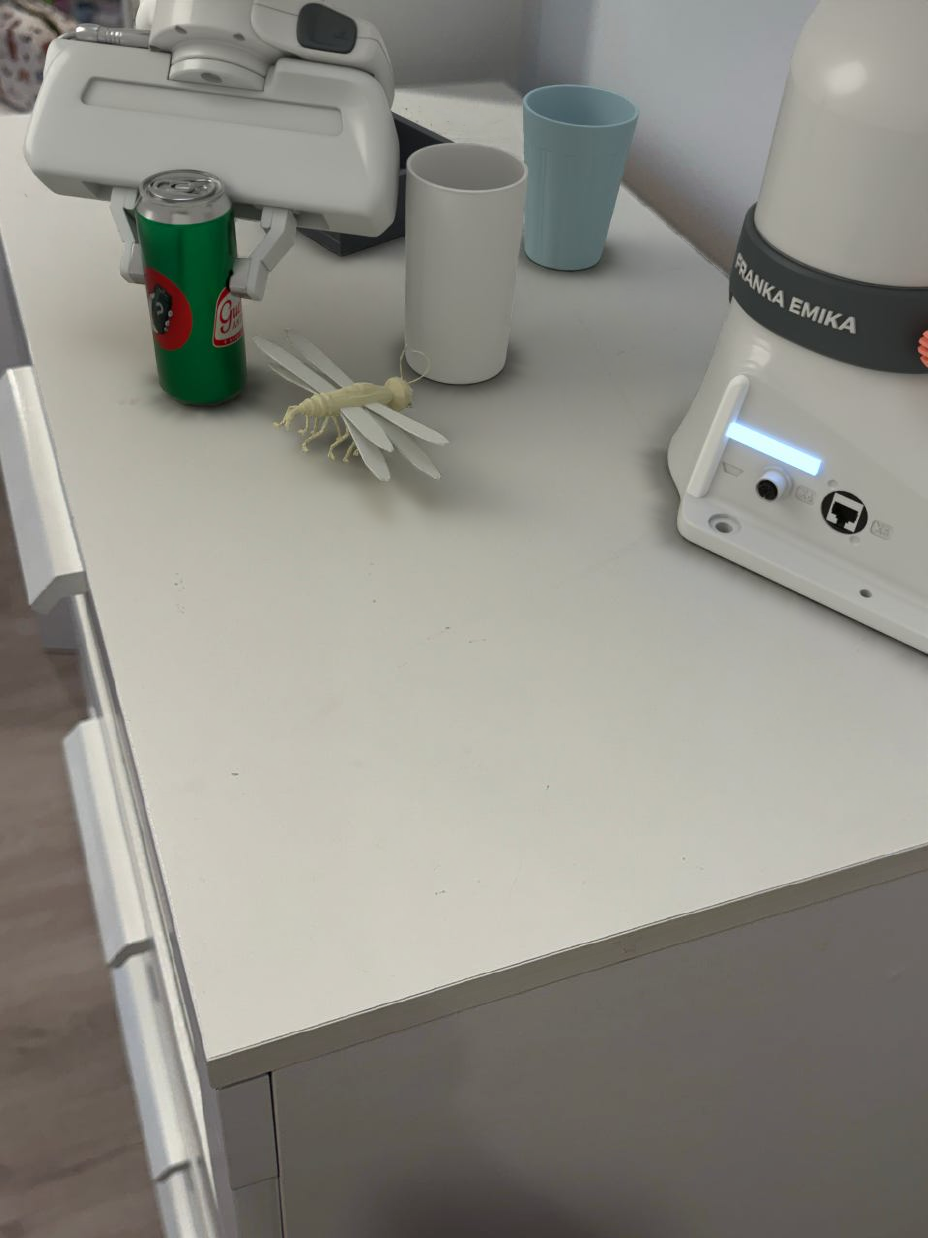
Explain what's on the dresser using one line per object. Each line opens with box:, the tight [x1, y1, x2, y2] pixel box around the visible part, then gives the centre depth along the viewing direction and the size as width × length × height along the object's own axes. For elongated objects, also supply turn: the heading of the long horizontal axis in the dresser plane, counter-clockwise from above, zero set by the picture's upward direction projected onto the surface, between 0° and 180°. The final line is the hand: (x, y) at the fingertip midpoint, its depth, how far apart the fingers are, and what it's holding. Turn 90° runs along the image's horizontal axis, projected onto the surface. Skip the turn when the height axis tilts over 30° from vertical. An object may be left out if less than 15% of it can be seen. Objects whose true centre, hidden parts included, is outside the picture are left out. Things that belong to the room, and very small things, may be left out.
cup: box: [522, 84, 640, 271], centre depth 81 cm, size 8×8×10 cm
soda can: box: [134, 169, 249, 407], centre depth 65 cm, size 5×5×12 cm
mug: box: [404, 142, 528, 385], centre depth 70 cm, size 10×7×12 cm, turn 5°
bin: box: [296, 110, 456, 257], centre depth 87 cm, size 13×13×4 cm
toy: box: [252, 328, 451, 483], centre depth 63 cm, size 15×9×5 cm, turn 39°
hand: (191, 288), depth 64 cm, fingers closed on soda can, 5 cm apart
